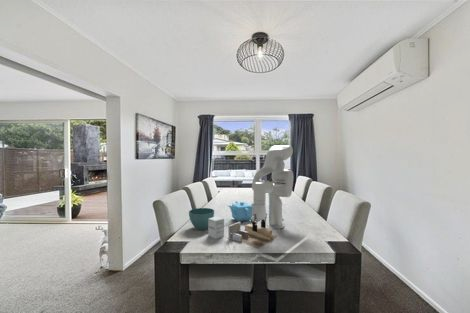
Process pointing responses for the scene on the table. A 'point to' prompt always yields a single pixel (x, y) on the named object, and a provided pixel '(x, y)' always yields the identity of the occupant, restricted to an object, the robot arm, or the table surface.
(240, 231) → the bracket
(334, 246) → the table surface
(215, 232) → the supplement box
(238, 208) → the teakettle
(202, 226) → the teal bowl
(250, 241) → the board
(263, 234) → the rail
